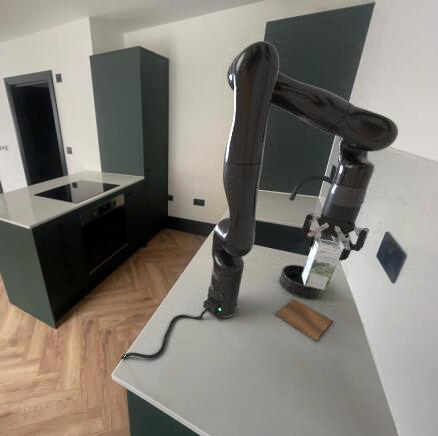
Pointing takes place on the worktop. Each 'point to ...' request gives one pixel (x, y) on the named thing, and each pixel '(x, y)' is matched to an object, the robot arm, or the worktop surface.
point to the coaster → (304, 319)
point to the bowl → (297, 282)
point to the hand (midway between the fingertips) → (324, 253)
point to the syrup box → (321, 263)
